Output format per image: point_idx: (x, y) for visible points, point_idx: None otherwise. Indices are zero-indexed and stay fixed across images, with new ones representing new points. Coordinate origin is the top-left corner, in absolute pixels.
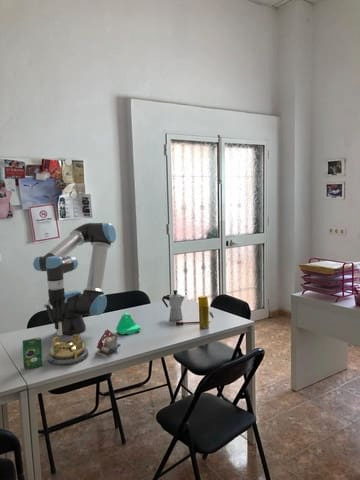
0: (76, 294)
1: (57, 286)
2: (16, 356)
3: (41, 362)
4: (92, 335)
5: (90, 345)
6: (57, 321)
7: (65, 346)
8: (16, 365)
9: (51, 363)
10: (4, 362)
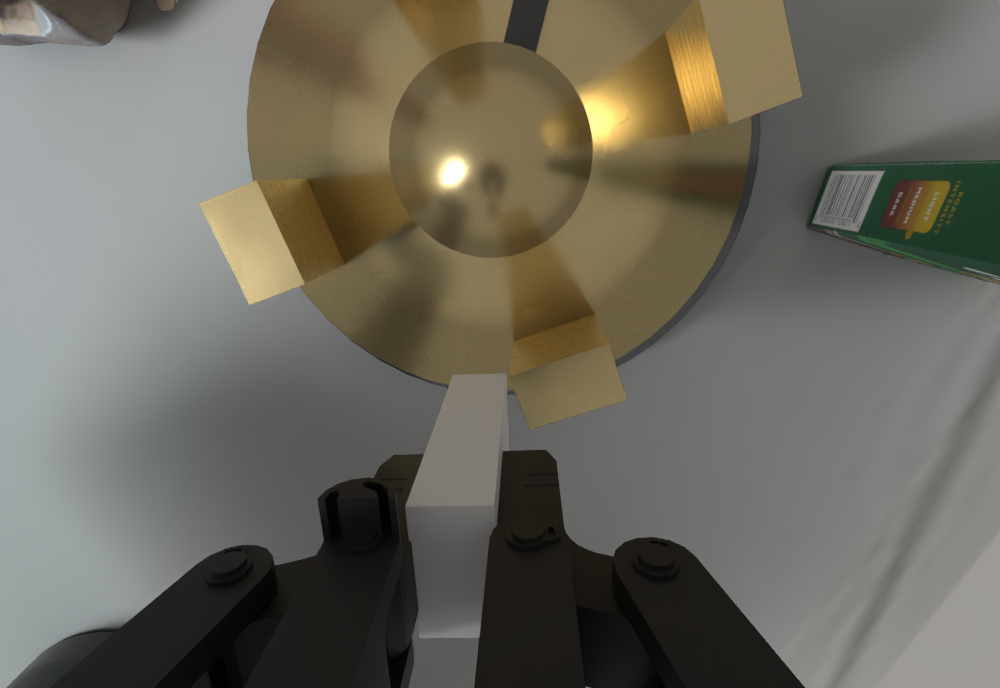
0: None
1: None
2: (827, 591)
3: (863, 163)
4: (29, 496)
5: (156, 269)
6: (530, 544)
7: (565, 79)
8: (971, 400)
9: None
10: (983, 551)
